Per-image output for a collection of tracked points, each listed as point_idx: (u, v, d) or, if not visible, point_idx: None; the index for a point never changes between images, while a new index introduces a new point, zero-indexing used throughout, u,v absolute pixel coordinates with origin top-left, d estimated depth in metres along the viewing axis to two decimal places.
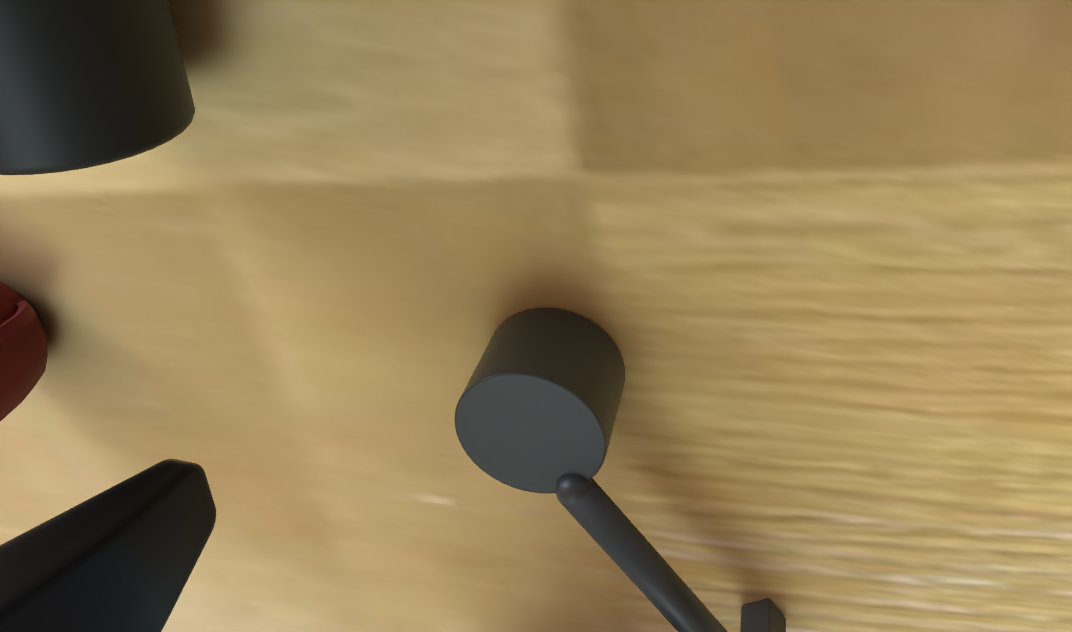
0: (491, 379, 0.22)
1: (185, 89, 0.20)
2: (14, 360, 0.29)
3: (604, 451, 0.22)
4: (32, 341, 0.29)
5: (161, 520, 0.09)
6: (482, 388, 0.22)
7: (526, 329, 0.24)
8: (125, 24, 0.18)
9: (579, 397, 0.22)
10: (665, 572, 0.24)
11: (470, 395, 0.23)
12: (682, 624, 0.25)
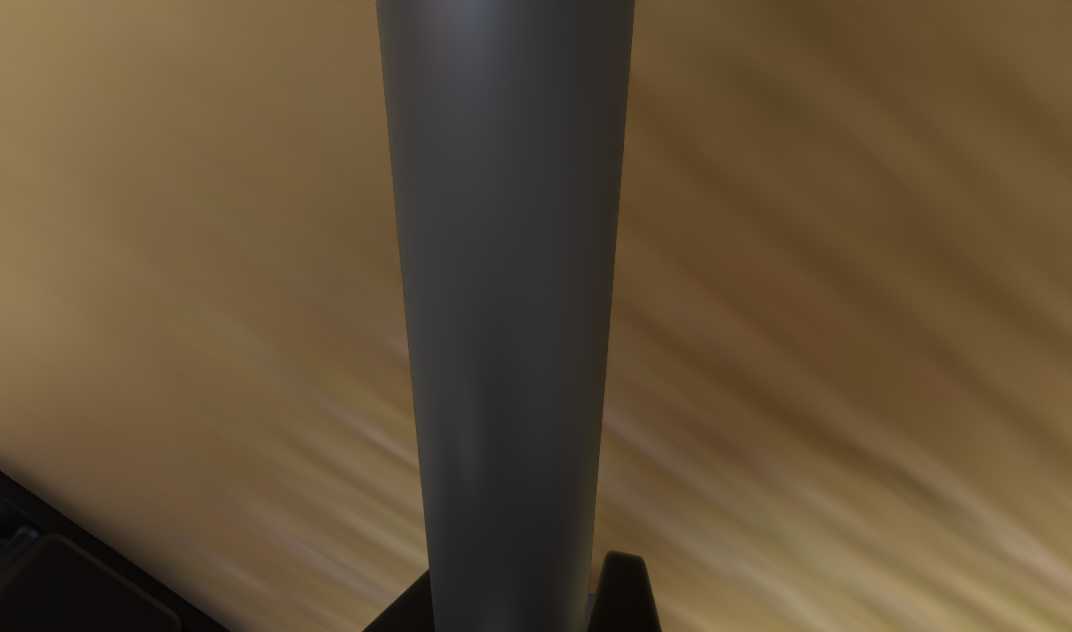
0: None
1: None
2: None
3: None
4: None
5: None
6: None
7: None
8: None
9: None
10: (589, 458, 0.05)
11: None
12: None
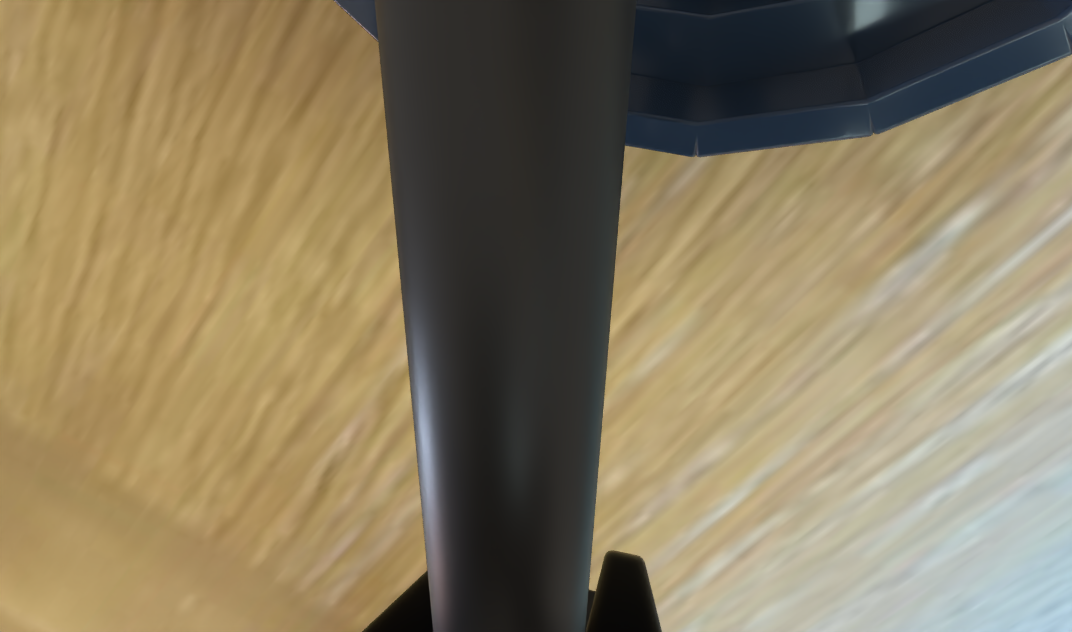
0: None
1: None
2: None
3: None
4: None
5: None
6: None
7: None
8: None
9: None
10: (590, 443, 0.05)
11: None
12: None
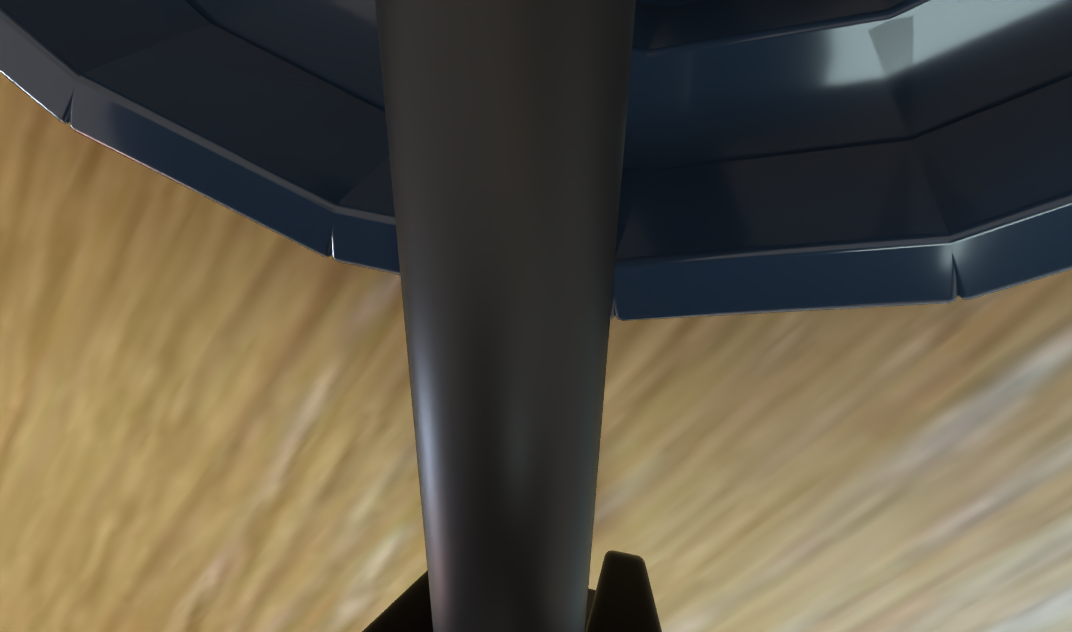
0: None
1: None
2: None
3: None
4: None
5: None
6: None
7: None
8: None
9: None
10: (589, 440, 0.05)
11: None
12: None
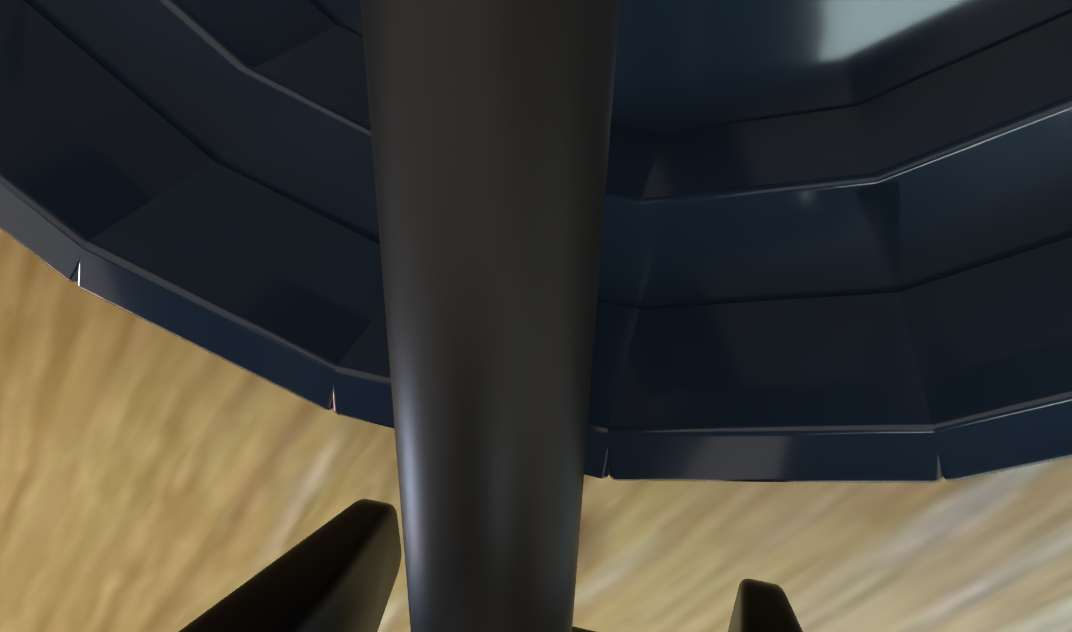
0: None
1: None
2: None
3: None
4: None
5: (367, 567, 0.08)
6: None
7: None
8: None
9: None
10: (574, 459, 0.05)
11: None
12: None
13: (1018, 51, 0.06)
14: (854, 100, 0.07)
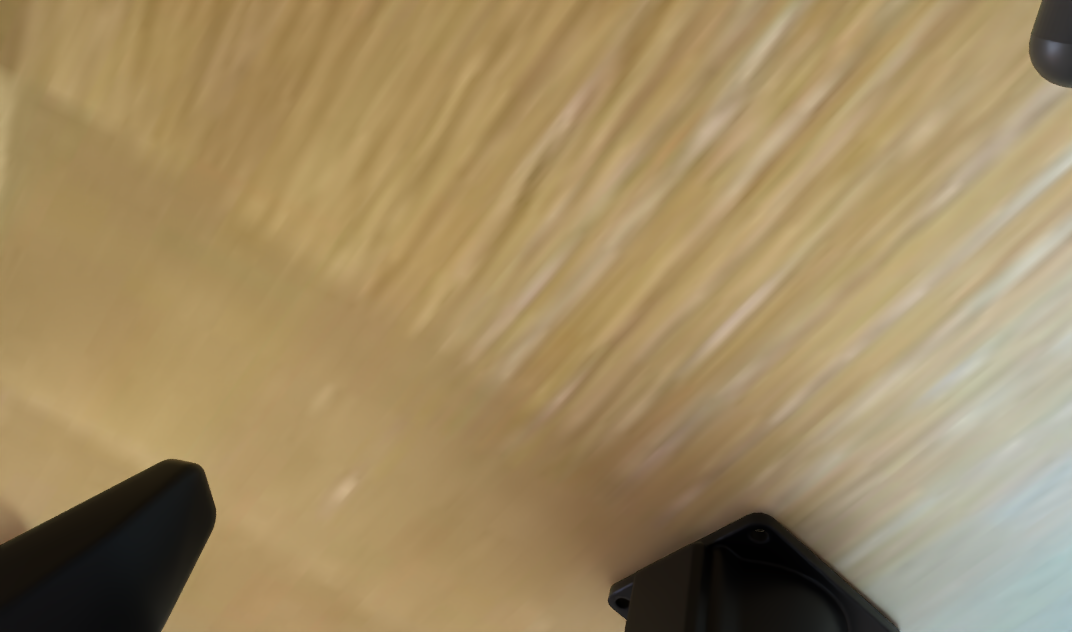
0: None
1: None
2: None
3: None
4: None
5: (161, 520, 0.09)
6: None
7: None
8: None
9: None
10: None
11: None
12: None
13: None
14: None
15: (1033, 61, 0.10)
